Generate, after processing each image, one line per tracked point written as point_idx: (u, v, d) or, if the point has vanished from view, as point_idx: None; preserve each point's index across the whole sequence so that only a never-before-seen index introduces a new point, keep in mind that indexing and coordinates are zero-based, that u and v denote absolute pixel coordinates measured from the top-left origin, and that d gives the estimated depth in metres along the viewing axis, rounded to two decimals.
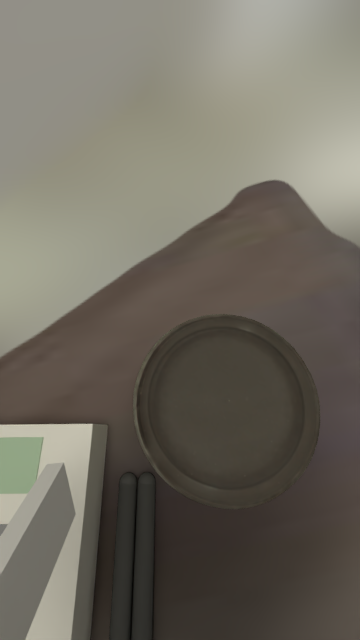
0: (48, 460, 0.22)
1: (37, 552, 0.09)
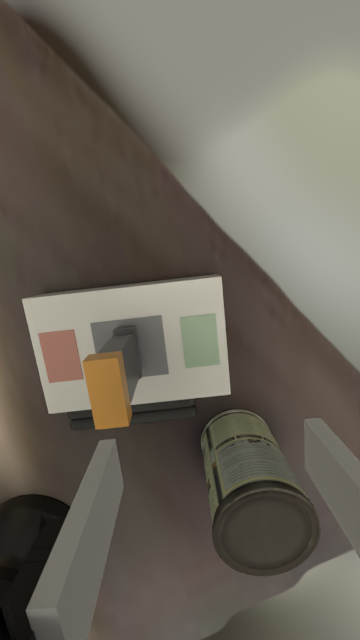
0: (205, 370, 0.32)
1: (103, 512, 0.11)
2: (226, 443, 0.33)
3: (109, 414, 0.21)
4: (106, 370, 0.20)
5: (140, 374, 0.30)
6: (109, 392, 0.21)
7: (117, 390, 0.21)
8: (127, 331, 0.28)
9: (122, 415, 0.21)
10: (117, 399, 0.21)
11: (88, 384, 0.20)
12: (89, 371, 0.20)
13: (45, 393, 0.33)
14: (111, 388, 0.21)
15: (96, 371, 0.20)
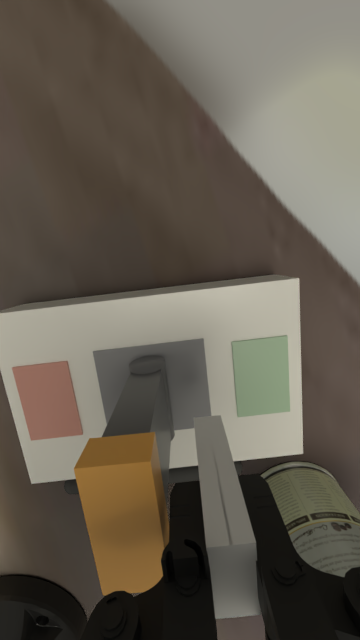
0: (267, 420, 0.21)
1: None
2: (297, 527, 0.22)
3: (132, 568, 0.10)
4: (126, 486, 0.09)
5: (172, 433, 0.19)
6: (133, 529, 0.10)
7: (149, 524, 0.10)
8: (153, 368, 0.17)
9: (158, 570, 0.10)
10: (148, 541, 0.10)
11: (87, 513, 0.10)
12: (89, 487, 0.09)
13: (25, 455, 0.22)
14: (136, 520, 0.10)
15: (104, 488, 0.09)
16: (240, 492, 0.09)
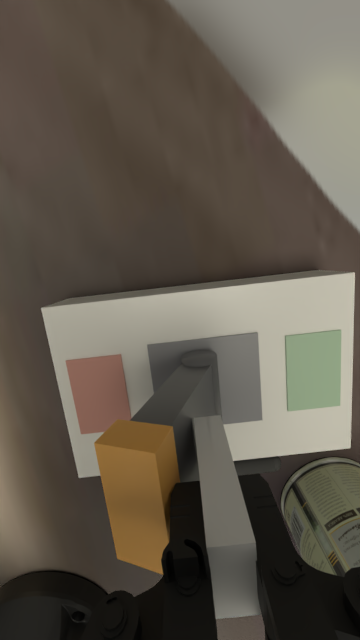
0: (316, 414, 0.21)
1: None
2: (345, 521, 0.22)
3: (140, 545, 0.11)
4: (135, 470, 0.10)
5: None
6: (140, 510, 0.10)
7: (154, 511, 0.10)
8: (202, 363, 0.17)
9: None
10: (154, 526, 0.10)
11: (104, 484, 0.11)
12: (105, 462, 0.10)
13: (74, 448, 0.22)
14: (143, 504, 0.10)
15: (117, 466, 0.10)
16: (240, 492, 0.09)
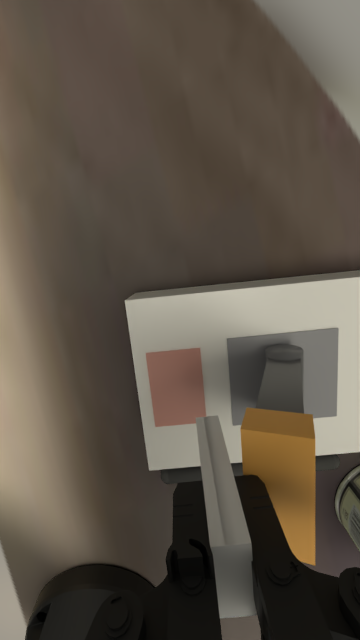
0: None
1: None
2: None
3: None
4: (286, 456, 0.10)
5: None
6: (286, 497, 0.11)
7: (303, 497, 0.10)
8: (292, 356, 0.17)
9: (305, 543, 0.11)
10: (300, 513, 0.10)
11: (246, 470, 0.11)
12: (251, 448, 0.11)
13: (147, 441, 0.22)
14: (291, 490, 0.10)
15: (265, 452, 0.10)
16: (236, 492, 0.09)
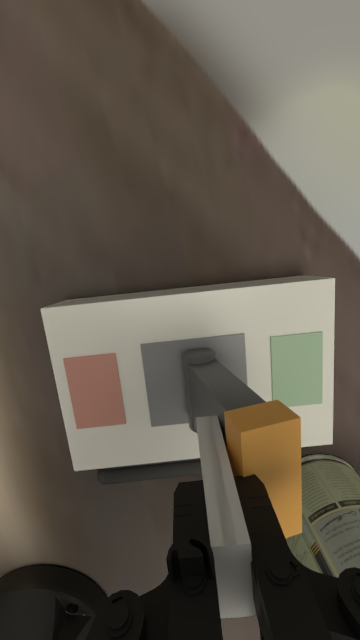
0: (300, 411, 0.23)
1: None
2: (327, 513, 0.23)
3: None
4: (280, 442, 0.11)
5: None
6: (280, 482, 0.11)
7: (292, 475, 0.11)
8: (210, 358, 0.19)
9: (294, 516, 0.12)
10: (291, 490, 0.11)
11: (246, 473, 0.11)
12: (250, 448, 0.11)
13: (70, 443, 0.23)
14: (283, 473, 0.11)
15: (263, 447, 0.11)
16: (236, 493, 0.09)
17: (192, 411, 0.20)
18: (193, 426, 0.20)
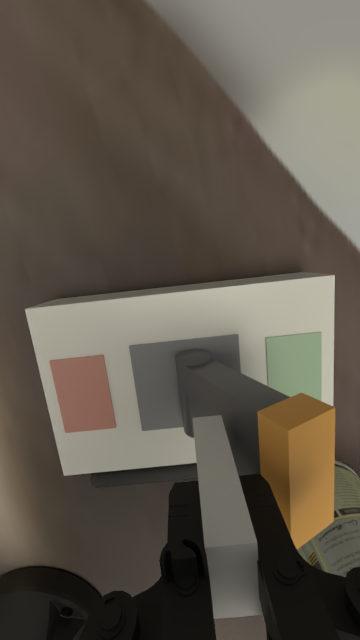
0: None
1: None
2: None
3: (313, 513, 0.11)
4: (319, 435, 0.11)
5: None
6: (318, 475, 0.11)
7: (328, 466, 0.11)
8: (207, 358, 0.18)
9: (328, 507, 0.12)
10: (326, 482, 0.11)
11: (292, 472, 0.10)
12: (295, 445, 0.10)
13: (59, 447, 0.22)
14: (321, 466, 0.11)
15: (306, 442, 0.10)
16: (241, 492, 0.09)
17: (190, 416, 0.19)
18: (191, 432, 0.19)
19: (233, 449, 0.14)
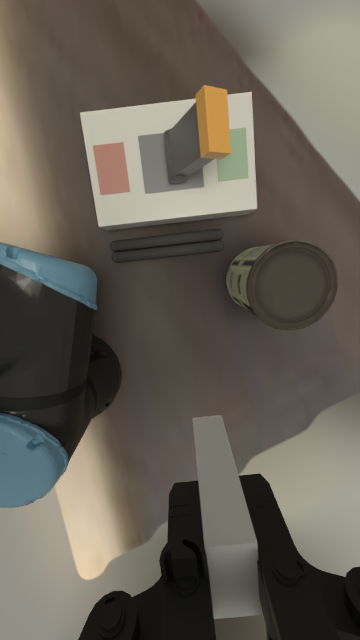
0: (235, 184, 0.37)
1: None
2: (253, 250, 0.38)
3: (219, 139, 0.27)
4: (219, 98, 0.26)
5: (186, 176, 0.35)
6: (220, 119, 0.27)
7: (225, 118, 0.27)
8: None
9: (227, 142, 0.27)
10: (225, 126, 0.27)
11: (207, 107, 0.26)
12: (208, 95, 0.26)
13: (96, 206, 0.38)
14: (221, 115, 0.27)
15: (213, 97, 0.26)
16: (241, 492, 0.09)
17: (171, 164, 0.34)
18: (172, 175, 0.34)
19: (190, 144, 0.30)
